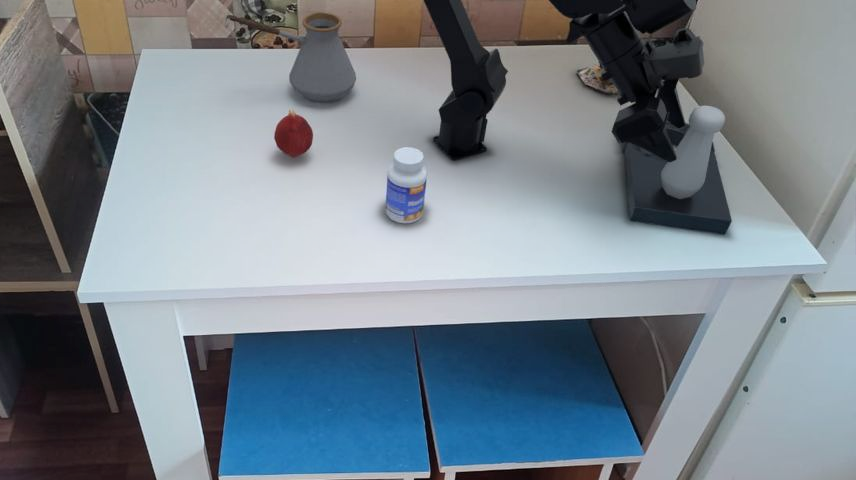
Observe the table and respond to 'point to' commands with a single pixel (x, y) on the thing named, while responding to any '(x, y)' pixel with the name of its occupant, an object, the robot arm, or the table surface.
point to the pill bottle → (406, 186)
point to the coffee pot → (316, 58)
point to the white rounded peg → (692, 153)
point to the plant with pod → (597, 79)
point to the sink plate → (662, 209)
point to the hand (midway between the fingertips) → (677, 143)
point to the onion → (293, 135)
